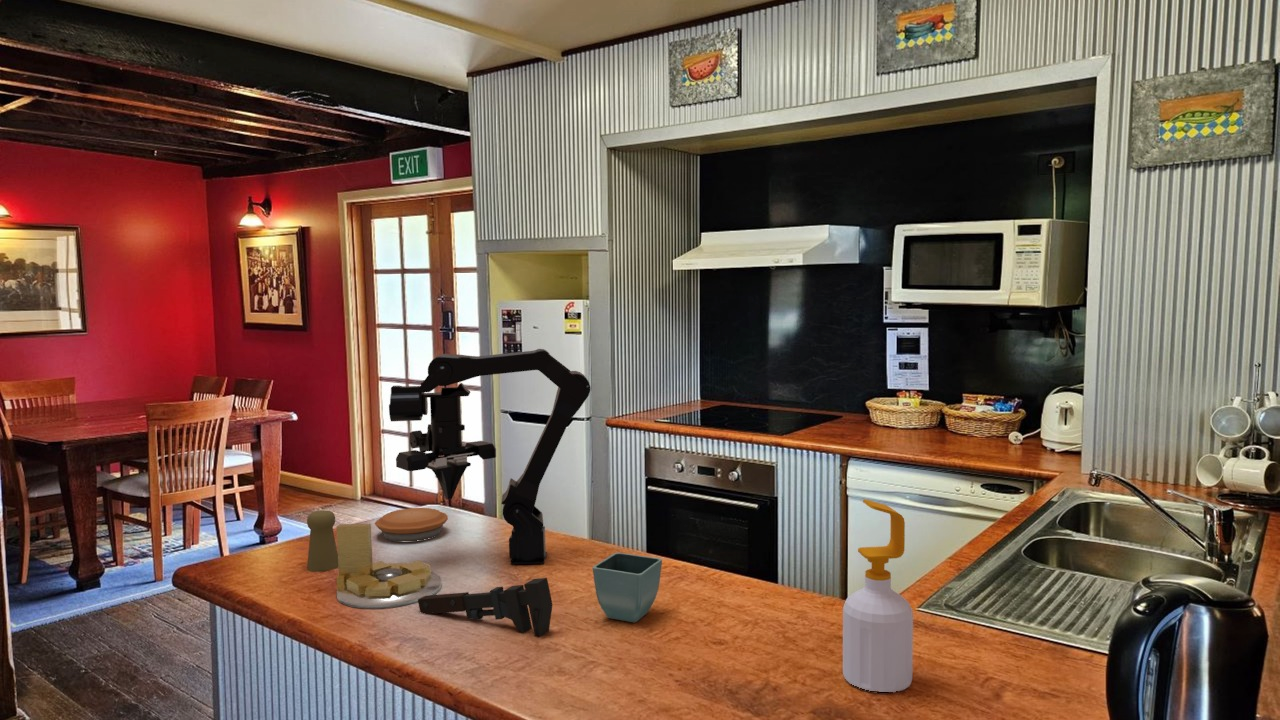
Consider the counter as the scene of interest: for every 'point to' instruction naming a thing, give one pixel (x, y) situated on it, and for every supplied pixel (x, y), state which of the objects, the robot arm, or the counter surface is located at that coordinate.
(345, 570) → the tan block ring
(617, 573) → the flower pot
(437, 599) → the adjustable wrench
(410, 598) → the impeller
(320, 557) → the olive pepper mill
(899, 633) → the soap bottle
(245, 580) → the counter surface
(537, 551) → the robot arm
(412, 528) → the pie
